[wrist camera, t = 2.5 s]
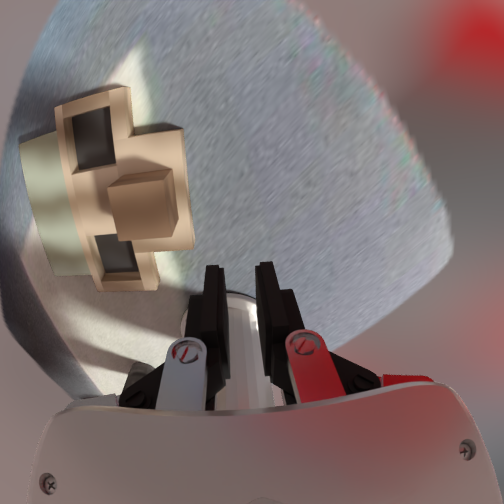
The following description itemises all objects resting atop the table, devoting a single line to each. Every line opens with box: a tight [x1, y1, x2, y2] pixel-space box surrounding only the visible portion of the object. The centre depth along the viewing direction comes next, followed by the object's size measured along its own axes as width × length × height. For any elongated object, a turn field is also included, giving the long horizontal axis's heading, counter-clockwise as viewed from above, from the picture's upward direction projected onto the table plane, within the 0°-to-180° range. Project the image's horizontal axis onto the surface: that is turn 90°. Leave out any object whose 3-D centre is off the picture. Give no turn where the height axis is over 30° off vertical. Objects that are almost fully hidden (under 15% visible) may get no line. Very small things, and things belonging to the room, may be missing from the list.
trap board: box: [19, 87, 195, 292], centre depth 26 cm, size 22×19×2 cm
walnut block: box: [107, 169, 179, 241], centre depth 23 cm, size 5×5×4 cm
